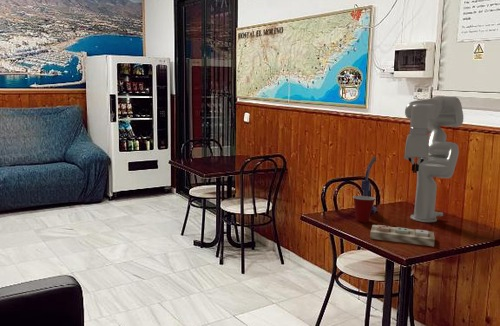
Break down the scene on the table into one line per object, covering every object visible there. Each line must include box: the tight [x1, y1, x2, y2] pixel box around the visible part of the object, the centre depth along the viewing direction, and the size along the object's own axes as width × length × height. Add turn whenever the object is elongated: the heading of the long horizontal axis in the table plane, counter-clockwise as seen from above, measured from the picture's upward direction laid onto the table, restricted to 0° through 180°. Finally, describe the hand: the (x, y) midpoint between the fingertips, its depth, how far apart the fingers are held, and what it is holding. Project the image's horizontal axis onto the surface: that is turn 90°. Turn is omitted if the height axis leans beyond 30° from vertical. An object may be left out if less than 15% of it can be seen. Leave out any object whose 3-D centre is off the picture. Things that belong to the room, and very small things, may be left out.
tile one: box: [415, 229, 429, 237], centre depth 217 cm, size 5×5×4 cm
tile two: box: [396, 226, 410, 234], centre depth 219 cm, size 5×5×4 cm
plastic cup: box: [352, 195, 376, 223], centre depth 245 cm, size 11×11×12 cm
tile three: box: [377, 224, 391, 232], centre depth 221 cm, size 5×5×4 cm
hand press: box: [360, 156, 378, 214], centre depth 264 cm, size 19×9×28 cm, turn 154°
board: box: [369, 224, 436, 247], centre depth 219 cm, size 26×12×3 cm, turn 72°
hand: (414, 172), depth 228 cm, fingers closed
